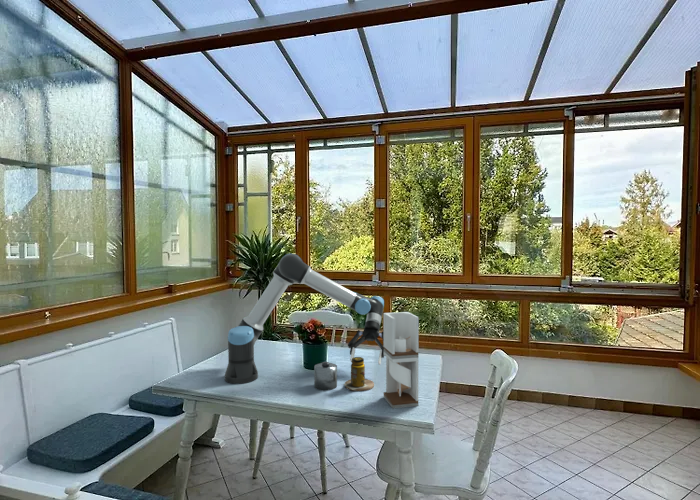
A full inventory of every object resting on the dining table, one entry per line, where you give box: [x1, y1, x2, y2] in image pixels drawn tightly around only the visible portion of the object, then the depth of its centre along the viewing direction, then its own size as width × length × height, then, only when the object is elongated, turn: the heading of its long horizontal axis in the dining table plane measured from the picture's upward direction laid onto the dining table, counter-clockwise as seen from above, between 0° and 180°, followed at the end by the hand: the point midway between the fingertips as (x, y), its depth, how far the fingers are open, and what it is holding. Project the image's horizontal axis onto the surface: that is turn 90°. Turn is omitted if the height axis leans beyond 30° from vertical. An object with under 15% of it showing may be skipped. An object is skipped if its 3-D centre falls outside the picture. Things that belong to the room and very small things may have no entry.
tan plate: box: [344, 378, 375, 392], centre depth 180 cm, size 13×13×1 cm
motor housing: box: [313, 361, 338, 392], centre depth 180 cm, size 10×10×10 cm
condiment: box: [343, 356, 368, 391], centre depth 177 cm, size 7×8×12 cm
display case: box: [383, 311, 420, 409], centre depth 162 cm, size 11×11×35 cm
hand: (365, 362), depth 190 cm, fingers open, 13 cm apart
